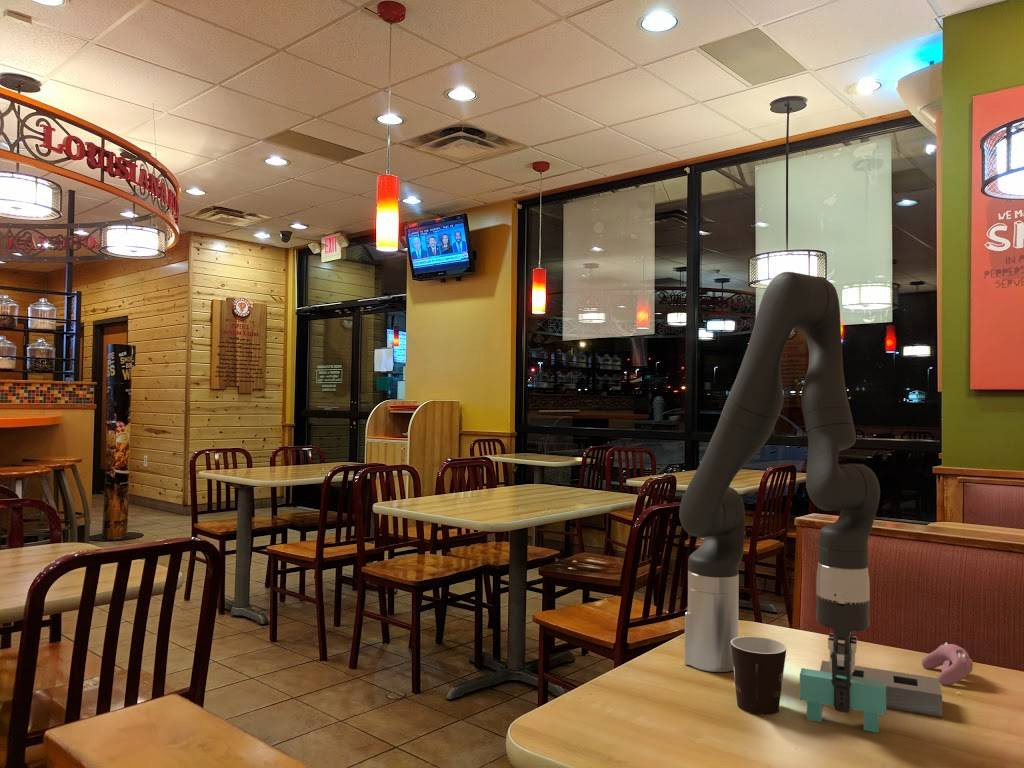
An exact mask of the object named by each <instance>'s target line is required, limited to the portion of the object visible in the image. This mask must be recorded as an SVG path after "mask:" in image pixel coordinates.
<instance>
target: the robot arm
mask: <svg viewBox="0 0 1024 768" xmlns="http://www.w3.org/2000/svg"><path fill="white" fill-rule="evenodd" d="M841 323H842V322H841V309H840V301H839V295H838V293H837V289H836V287H835V285H834V284H833V283H832V282H830V281H829V280H828V279H825V278H823V277H819V276H815V275H809V274H803V273H798V272H793V271H783V272H781V273H779V274H777V275H775V276H774V277H773V278H772V279H771V281H770V282H769V283H768V284H767V287H766V288H765V290H764V292H763V295H762V297H761V300H760V304H759V307H758V311H757V314H756V317H755V321H754V324H753V328H752V332H751V335H750V338H749V341H748V344H747V346H746V347H747V348H746V350H745V353H744V355H743V358H742V361H741V365H740V367H739V369H738V372H737V374H736V378H735V380H734V383H733V384H732V386H731V388H730V391H729V394H728V396H727V399H726V400H725V402H724V403H725V404H724V405H723V409H722V411H721V413H720V417H719V419H718V422H717V425H716V427H715V429H714V431H713V434H712V437H710V438H711V439H710V441H709V443H708V445H707V448H706V450H705V452H704V455H703V457H702V459H701V462H700V464H698V467H697V468H696V471H695V473H694V474H693V476H692V477H691V478H692V479H691V480H690V482H689V484H688V486H687V488H686V489H685V490H684V494H683V496H682V498H681V500H680V504H679V505H680V506H679V509H678V510H679V516H678V517H679V521H680V524H681V527H682V528H683V530H684V532H686V533H687V534H688V535H690V536H692V537H696V538H704V539H703V541H702V543H701V544H700V546H699V547H698V548H696V550H694V551H693V552H692V553H690V555H689V556H688V561H687V610H686V612H685V613H684V665H686V666H687V665H688V666H691V667H693V668H695V669H698V670H701V671H706V672H713V673H715V672H716V673H725V672H726V673H727V672H732V671H734V669H733V660H732V651H731V640H732V639H734V638H737V637H739V601H740V600H739V589H740V588H739V584H740V583H739V582H740V581H739V578H740V577H739V575H740V574H739V571H740V569H739V568H740V565H741V562H742V560H743V556H744V549H745V529H746V510H745V505H744V501H743V498H742V496H741V494H739V492H738V491H737V490H736V489H734V488H733V487H731V486H730V485H731V484H732V481H733V480H734V478H735V477H736V475H738V474H739V472H740V471H741V470H742V469H743V467H745V465H747V463H749V461H751V459H753V457H754V456H756V454H757V453H758V452H759V451H760V450H761V449H762V448H763V447H764V445H765V444H766V443H767V441H768V440H769V438H770V437H771V434H772V433H773V430H774V428H775V426H776V423H777V421H778V418H779V417H780V415H781V412H782V409H783V406H784V386H783V379H782V374H781V373H782V370H781V363H782V357H783V354H784V350H785V348H786V345H787V342H788V341H789V337H790V336H791V333H792V331H793V330H798V331H802V332H803V335H804V337H805V341H806V343H807V347H808V354H809V356H808V357H809V359H808V367H807V371H806V374H805V379H804V381H803V382H804V383H803V386H802V390H801V398H800V399H801V409H802V417H803V422H804V424H805V430H806V431H805V432H806V435H807V439H808V445H807V447H808V448H807V461H806V462H807V463H806V475H805V486H806V487H805V488H806V491H807V494H808V497H809V498H810V501H812V503H813V504H814V505H815V506H816V507H817V508H818V509H820V510H821V511H829V512H830V511H834V512H835V511H840V512H839V516H838V519H837V520H835V522H832V523H830V524H827V525H824V526H823V527H821V528H820V530H819V533H818V543H817V546H818V548H817V554H818V558H817V559H818V562H817V571H816V593H815V594H816V600H815V601H816V607H815V608H816V612H815V614H816V618H815V619H816V622H818V624H819V625H821V626H823V627H826V628H830V629H832V631H833V633H830V632H829V634H828V638H827V648H828V651H829V662H830V669H831V670H832V679H831V683H832V686H834V706H833V708H834V711H836V712H839V713H846V714H848V713H850V711H851V709H850V689H851V686H852V683H851V676H853V672H854V665H855V664H856V652H857V647H858V637H857V636H854V634H853V631H856V632H862V631H865V630H867V629H868V628H869V627H870V625H871V623H870V618H871V617H870V609H871V607H870V606H871V605H870V604H871V603H870V602H871V601H870V598H871V597H870V595H871V594H870V592H871V591H870V590H871V589H870V588H871V587H870V585H871V584H870V583H871V582H870V575H869V568H868V567H869V541H868V540H869V537H870V535H871V531H872V530H873V525H874V522H875V518H876V515H877V510H878V507H879V503H880V499H881V498H880V497H881V488H880V487H881V486H880V482H879V480H878V477H877V475H876V474H875V472H874V471H873V470H872V469H871V468H870V467H868V466H867V465H864V464H858V463H857V464H856V463H855V464H854V463H853V464H852V463H851V464H849V463H848V464H847V463H846V464H839V453H840V452H841V451H844V450H847V449H848V450H849V448H852V447H853V446H854V445H855V444H856V441H857V435H856V429H855V425H854V424H855V423H854V420H853V416H852V411H851V407H850V403H849V399H848V398H849V397H848V393H847V389H846V382H845V374H844V362H843V361H844V360H843V342H842V341H843V340H842V339H843V338H842V324H841ZM855 666H856V665H855ZM837 675H841V676H845V677H846V678H847V679H843V678H837Z"/></svg>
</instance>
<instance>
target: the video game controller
mask: <svg viewBox="0 0 1024 768" xmlns="http://www.w3.org/2000/svg"><path fill="white" fill-rule="evenodd" d="M921 665H922V667H923V668H924V669H926V670H931V669H936V668H938V667H941V673H940V674H939V675H938V677H937V678H939V683H940V685H942V686H951V685H954V684H957V683H959V682H960V681H962V680H964V678H965V677H967V676H969V675H970V674H971V673H972V672H973V669H974V667H973V666H974V661H973V660H972V659H971V658H970V656H969V653H968V652H967V650H966V649H964V648H963V647H961V646H959V645H958V644H957V645H956V644H954V643H951V644H949V643H948V642H945V643H944V644H941V645H939V646H938V647H937V648H936V649H935V650H933V651H932V652H930V653H928V654H927V655H925V656H924V657H923V658H922V660H921Z"/></svg>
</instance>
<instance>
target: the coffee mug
mask: <svg viewBox="0 0 1024 768" xmlns="http://www.w3.org/2000/svg"><path fill="white" fill-rule="evenodd" d="M731 651H732V660H733V669H734V670H733V678H734V687H735V696H736V697H735V698H736V705H737V707H738V708H739V709H740V710H742V711H744V712H745V713H748V714H751V715H757V716H773V715H775V714H777V713H779V710H780V702H781V696H782V687H783V679H784V671H785V665H786V663H785V662H786V656H787V645H785V644H784V643H782V642H781V641H777V640H776V639H773V638H772V639H771V638H767V637H760V636H752V635H751V636H747V635H746V636H745V635H744V636H738V637H737V638H734V639H732V640H731Z"/></svg>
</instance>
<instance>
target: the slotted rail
mask: <svg viewBox="0 0 1024 768" xmlns="http://www.w3.org/2000/svg"><path fill="white" fill-rule="evenodd" d="M819 671H824V672H830V673H832V670H831V669H830V661H828V660H827V661H826V660H822V661H821V665H820V669H819ZM853 676H855V677H861V678H868V679H874V680H880V681H886V709H891V710H897V711H902V712H903V711H904V712H908V713H914V714H921V715H927V716H933V717H938V718H943V693H942V688H941V684H940V683H939V678H938V677H931V676H927V675H926V676H925V675H918V674H912V673H907V672H906V673H905V672H900V671H893V670H886V669H880V668H879V669H878V668H873V667H866V666H861V665H854V672H853Z"/></svg>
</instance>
